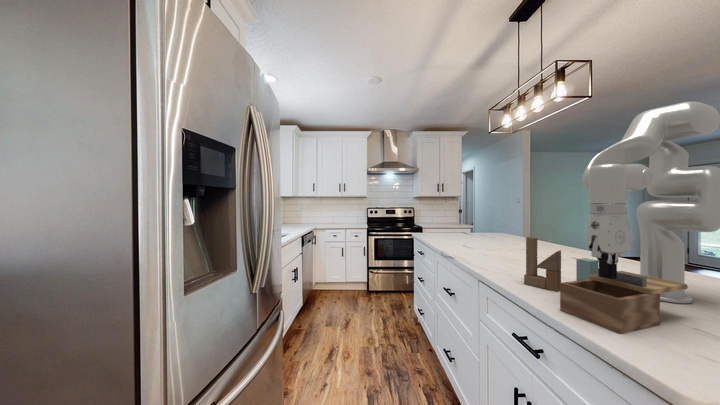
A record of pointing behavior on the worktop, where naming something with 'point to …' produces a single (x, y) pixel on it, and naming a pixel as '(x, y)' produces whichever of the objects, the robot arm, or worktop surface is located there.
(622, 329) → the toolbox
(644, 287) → the lid
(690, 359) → the worktop surface
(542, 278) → the wooden block structure
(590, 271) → the teal rectangular block
